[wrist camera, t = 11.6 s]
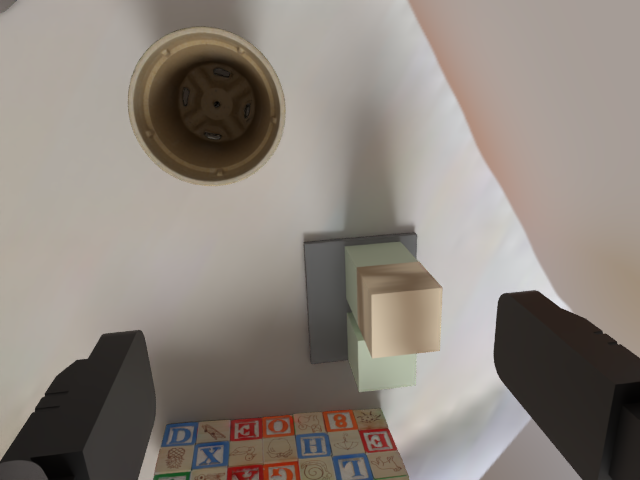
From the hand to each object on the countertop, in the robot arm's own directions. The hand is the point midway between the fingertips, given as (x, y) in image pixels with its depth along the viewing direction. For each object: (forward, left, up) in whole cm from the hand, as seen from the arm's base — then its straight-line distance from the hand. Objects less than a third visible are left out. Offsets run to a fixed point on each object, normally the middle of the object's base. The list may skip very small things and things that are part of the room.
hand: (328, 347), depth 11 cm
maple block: (+8, -11, -24) cm, 28 cm away
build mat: (+7, -14, -30) cm, 34 cm away
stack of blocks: (-2, -29, -30) cm, 42 cm away
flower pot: (-4, +4, -30) cm, 31 cm away
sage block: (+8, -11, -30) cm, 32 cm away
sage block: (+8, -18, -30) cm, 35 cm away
